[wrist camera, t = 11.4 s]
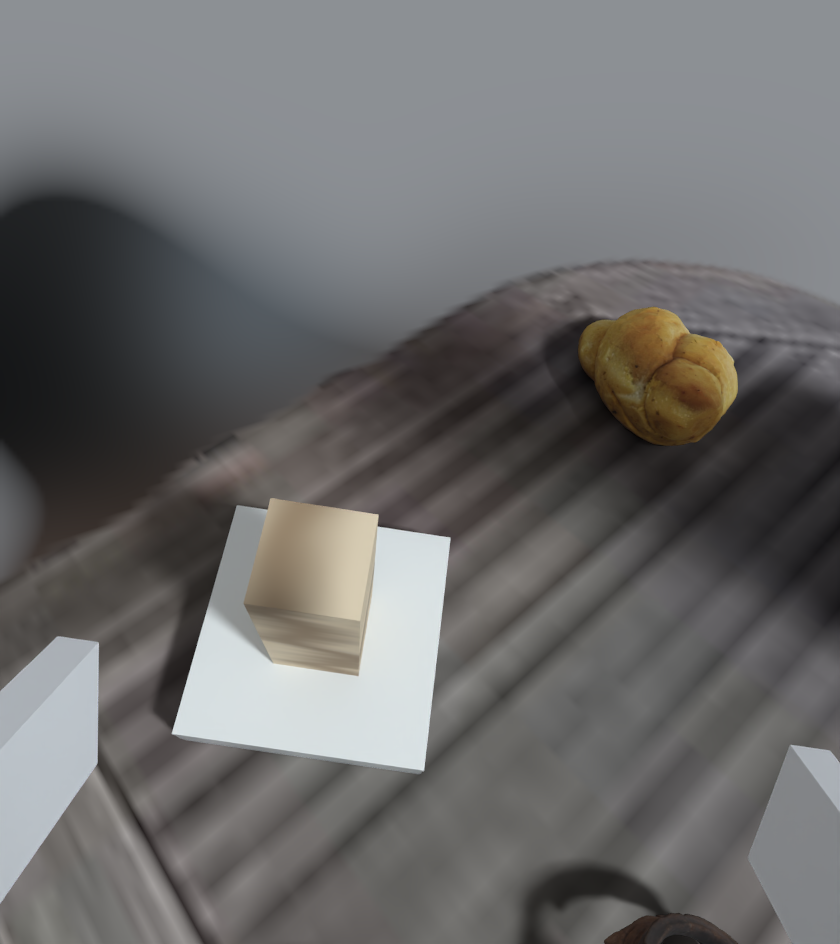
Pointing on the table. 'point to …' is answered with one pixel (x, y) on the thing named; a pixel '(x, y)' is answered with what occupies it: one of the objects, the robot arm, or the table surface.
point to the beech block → (313, 585)
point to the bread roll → (658, 375)
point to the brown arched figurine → (669, 930)
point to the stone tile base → (314, 691)
